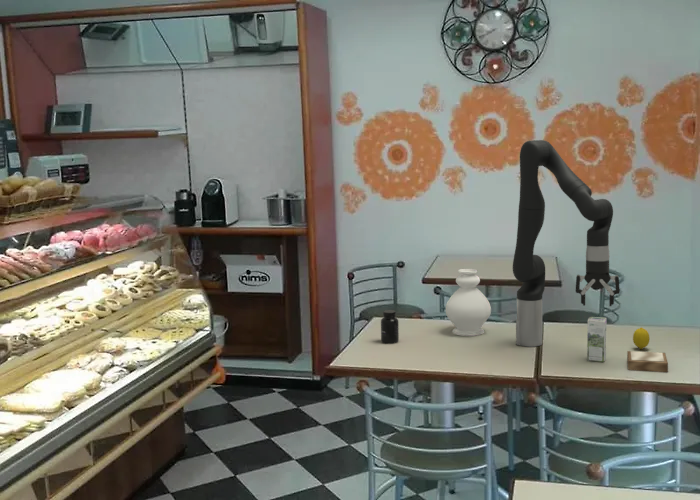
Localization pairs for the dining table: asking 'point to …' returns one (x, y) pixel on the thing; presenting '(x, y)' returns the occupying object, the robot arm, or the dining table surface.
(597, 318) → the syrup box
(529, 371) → the dining table surface
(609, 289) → the robot arm
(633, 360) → the plinth
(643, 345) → the lemon
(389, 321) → the supplement bottle
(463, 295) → the decorative vase
